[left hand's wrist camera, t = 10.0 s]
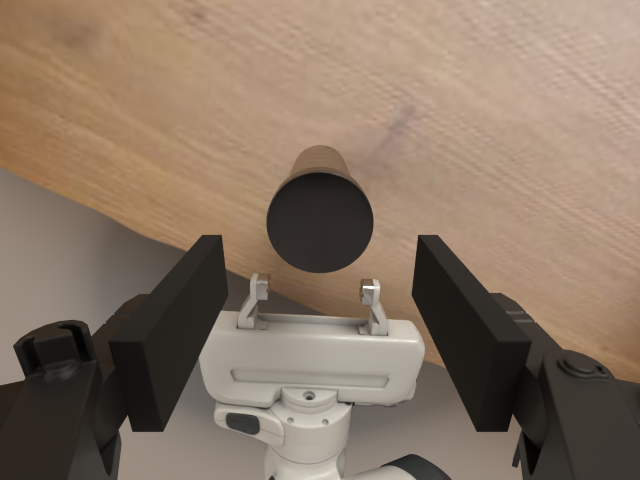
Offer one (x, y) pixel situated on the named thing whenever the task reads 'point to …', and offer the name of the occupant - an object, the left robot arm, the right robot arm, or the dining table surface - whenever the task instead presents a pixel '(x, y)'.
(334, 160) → the brown canister
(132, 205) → the dining table surface
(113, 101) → the dining table surface
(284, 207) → the lid
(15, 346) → the left robot arm
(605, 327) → the dining table surface
